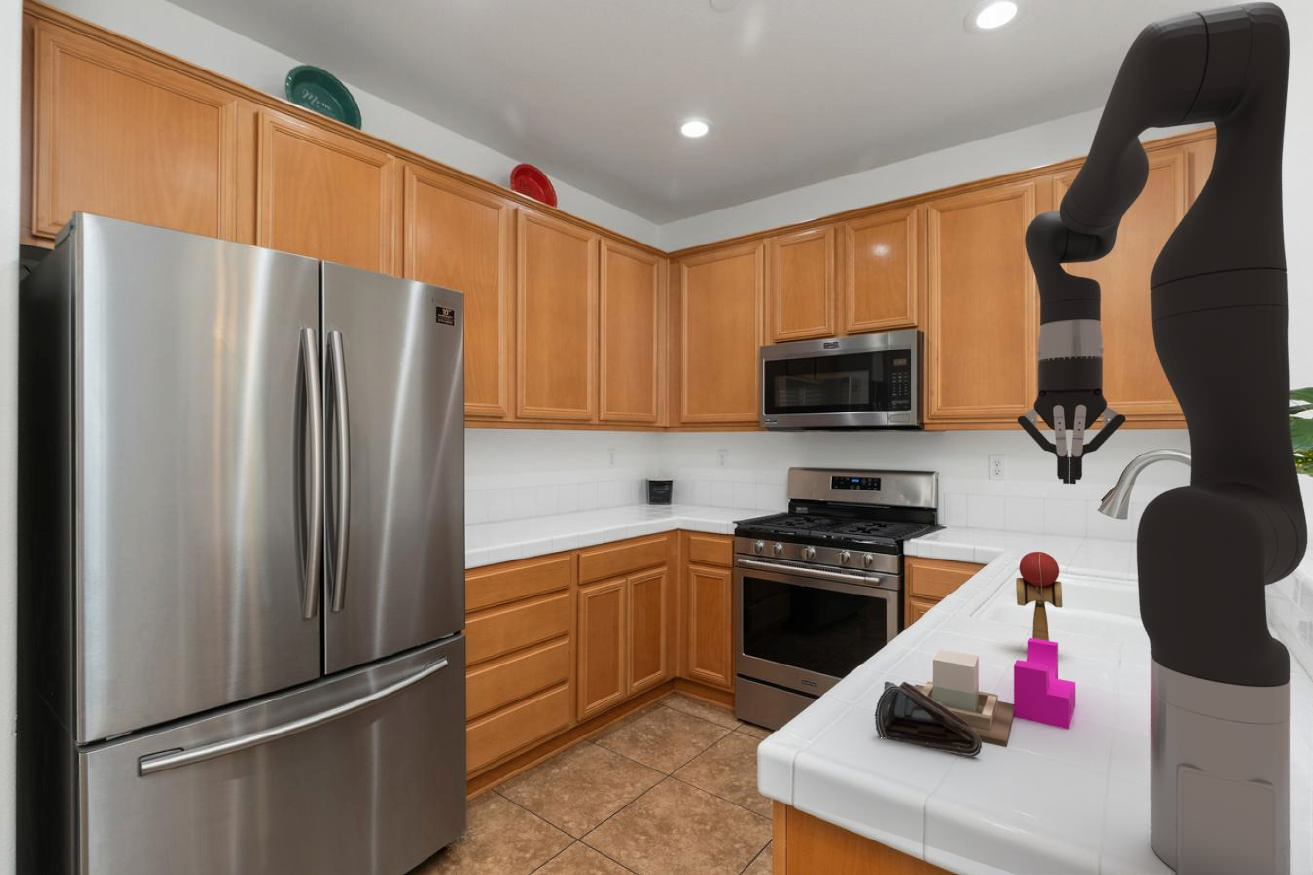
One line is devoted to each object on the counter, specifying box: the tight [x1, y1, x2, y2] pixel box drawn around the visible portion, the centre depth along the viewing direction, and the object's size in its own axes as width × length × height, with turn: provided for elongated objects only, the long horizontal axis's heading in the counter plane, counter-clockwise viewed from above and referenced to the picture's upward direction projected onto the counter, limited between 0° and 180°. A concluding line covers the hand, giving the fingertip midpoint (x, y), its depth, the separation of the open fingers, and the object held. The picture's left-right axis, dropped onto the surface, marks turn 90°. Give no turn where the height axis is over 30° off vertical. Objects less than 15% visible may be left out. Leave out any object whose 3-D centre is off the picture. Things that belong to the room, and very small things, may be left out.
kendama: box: [1015, 551, 1063, 641], centre depth 113 cm, size 8×6×18 cm
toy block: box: [1013, 637, 1076, 730], centre depth 91 cm, size 15×6×8 cm, turn 143°
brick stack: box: [932, 649, 980, 713], centre depth 87 cm, size 5×5×7 cm
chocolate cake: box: [874, 681, 983, 758], centre depth 81 cm, size 10×7×12 cm
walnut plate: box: [914, 681, 1015, 748], centre depth 87 cm, size 13×13×3 cm
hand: (1069, 483), depth 89 cm, fingers closed
